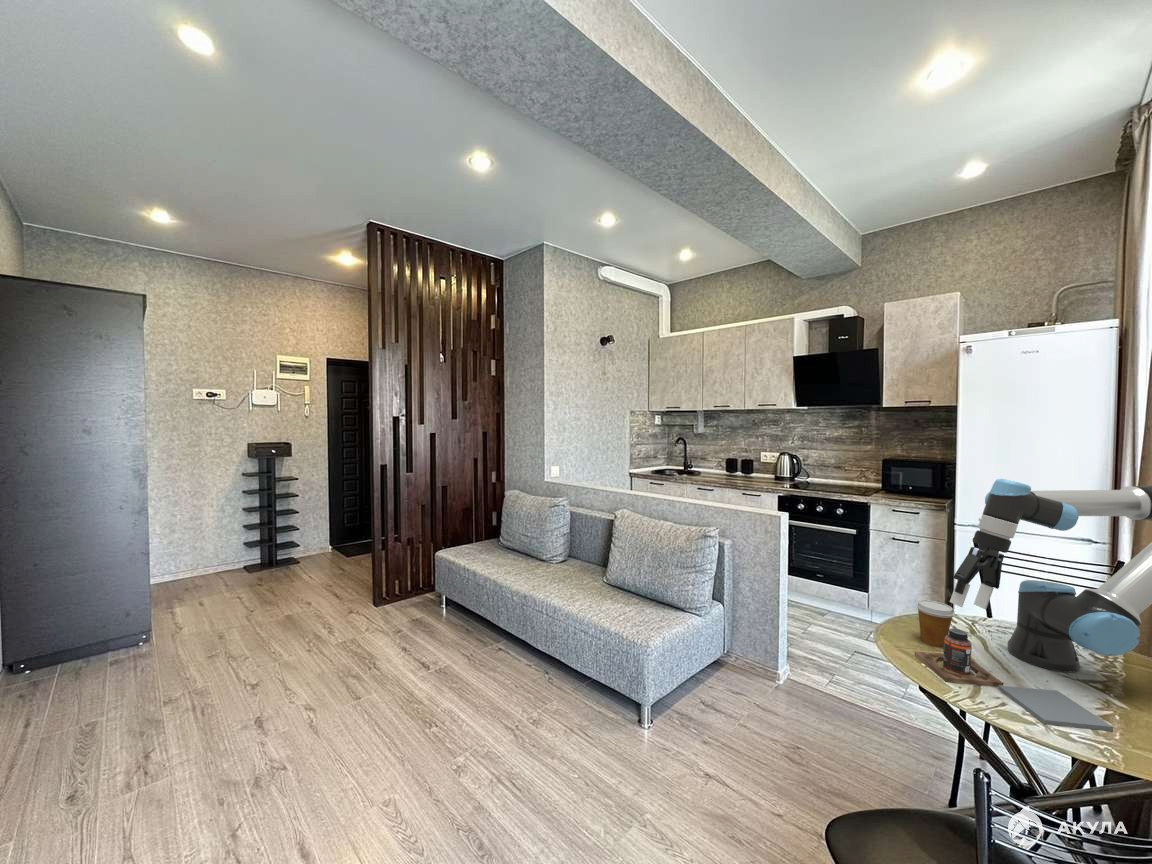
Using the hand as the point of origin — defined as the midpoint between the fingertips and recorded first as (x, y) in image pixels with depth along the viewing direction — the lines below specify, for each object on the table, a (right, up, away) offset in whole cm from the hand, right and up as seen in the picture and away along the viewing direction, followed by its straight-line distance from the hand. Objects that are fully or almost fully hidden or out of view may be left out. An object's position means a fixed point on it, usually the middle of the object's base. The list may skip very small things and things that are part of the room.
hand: (967, 605), depth 128 cm
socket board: (-2, -19, +2) cm, 19 cm away
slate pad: (+8, -20, -15) cm, 26 cm away
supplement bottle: (-2, -19, +2) cm, 19 cm away
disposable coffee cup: (+4, -19, +18) cm, 26 cm away
